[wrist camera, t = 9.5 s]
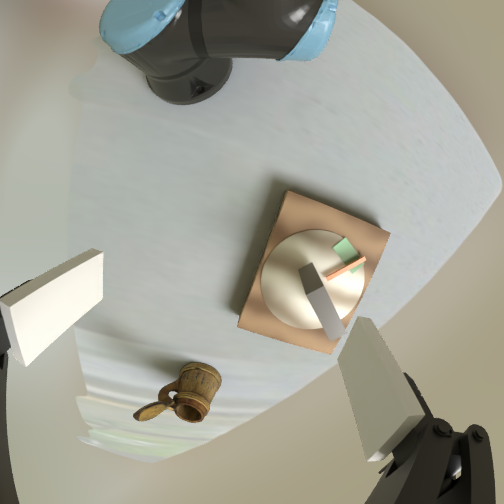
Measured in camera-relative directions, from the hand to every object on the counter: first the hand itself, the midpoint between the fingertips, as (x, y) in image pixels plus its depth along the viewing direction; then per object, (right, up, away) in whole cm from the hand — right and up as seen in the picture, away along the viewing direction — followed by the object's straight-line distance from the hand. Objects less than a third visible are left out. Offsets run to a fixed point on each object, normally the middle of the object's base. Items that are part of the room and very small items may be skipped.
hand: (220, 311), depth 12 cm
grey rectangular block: (+15, 0, +29) cm, 32 cm away
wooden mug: (-12, -23, +41) cm, 49 cm away
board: (+12, -1, +34) cm, 36 cm away
